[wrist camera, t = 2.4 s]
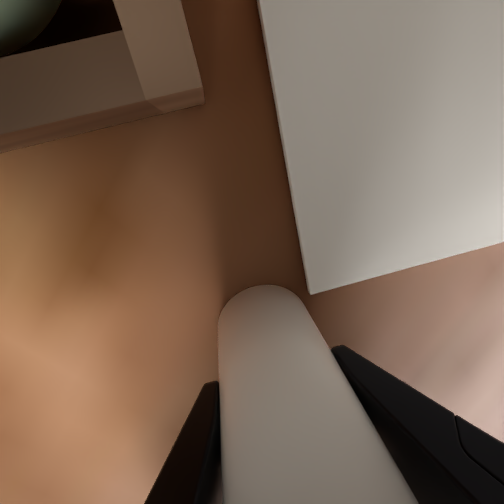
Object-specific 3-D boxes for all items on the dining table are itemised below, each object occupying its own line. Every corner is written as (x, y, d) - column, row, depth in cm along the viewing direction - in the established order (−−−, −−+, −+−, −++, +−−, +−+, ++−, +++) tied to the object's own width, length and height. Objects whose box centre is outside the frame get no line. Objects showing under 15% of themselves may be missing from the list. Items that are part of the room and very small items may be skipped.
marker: (316, 349, 12) (600, 909, 3) (228, 374, 12) (276, 1032, 3) (301, 271, 10) (742, 885, 2) (202, 297, 10) (150, 1119, 2)
